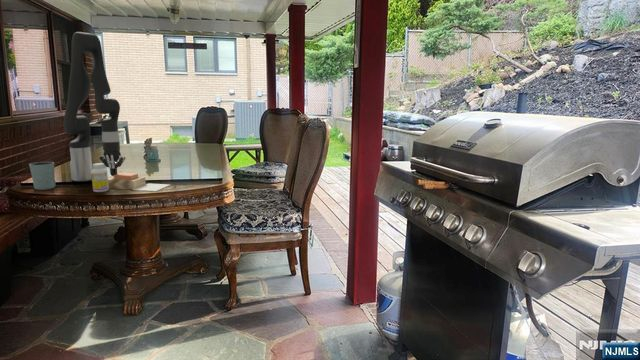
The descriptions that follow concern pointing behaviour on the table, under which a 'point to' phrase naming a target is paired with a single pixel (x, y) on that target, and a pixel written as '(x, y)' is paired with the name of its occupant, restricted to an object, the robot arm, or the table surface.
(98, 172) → the supplement bottle
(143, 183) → the deck
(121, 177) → the orange brown flat block
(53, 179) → the pale teal cup
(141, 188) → the mat
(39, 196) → the table surface
